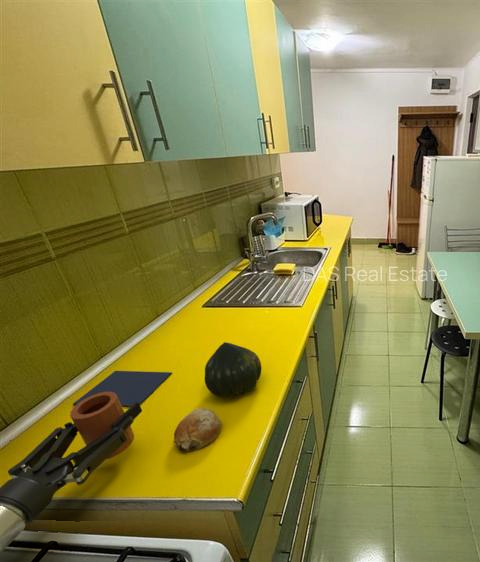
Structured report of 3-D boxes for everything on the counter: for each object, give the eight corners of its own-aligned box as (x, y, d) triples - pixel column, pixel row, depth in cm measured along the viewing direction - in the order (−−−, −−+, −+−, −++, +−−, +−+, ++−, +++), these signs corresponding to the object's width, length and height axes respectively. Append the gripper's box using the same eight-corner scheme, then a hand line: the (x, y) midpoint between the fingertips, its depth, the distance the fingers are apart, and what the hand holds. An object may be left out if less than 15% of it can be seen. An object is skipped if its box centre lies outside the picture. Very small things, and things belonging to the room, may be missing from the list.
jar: (82, 459, 65) (59, 417, 60) (112, 430, 72) (93, 391, 67) (115, 461, 64) (94, 419, 60) (142, 431, 71) (125, 392, 67)
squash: (245, 396, 79) (250, 338, 84) (188, 399, 79) (197, 341, 84) (265, 394, 93) (268, 345, 97) (217, 397, 93) (222, 347, 97)
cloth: (73, 405, 84) (72, 403, 84) (115, 371, 97) (115, 370, 97) (138, 407, 83) (137, 406, 83) (172, 373, 96) (171, 372, 96)
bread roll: (227, 444, 76) (233, 413, 76) (185, 462, 67) (192, 427, 67) (203, 428, 81) (209, 398, 81) (162, 442, 72) (169, 409, 72)
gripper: (-40, 524, 51) (86, 416, 72) (73, 532, 50) (168, 419, 71) (-66, 496, 48) (74, 391, 69) (54, 503, 47) (159, 394, 68)
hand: (122, 406), depth 70 cm, fingers closed on jar, 7 cm apart
